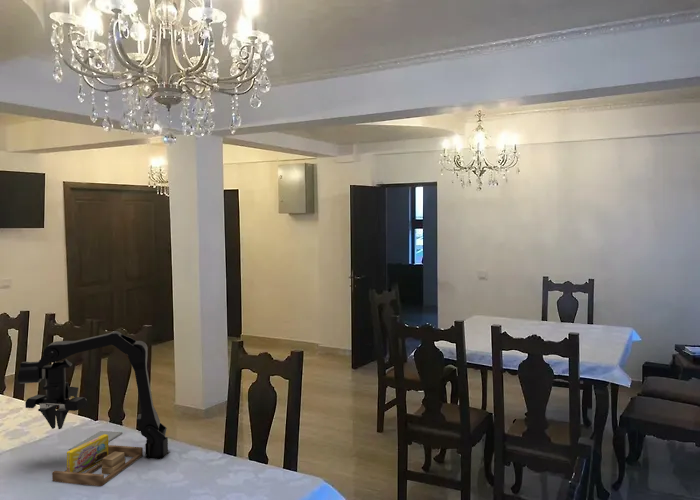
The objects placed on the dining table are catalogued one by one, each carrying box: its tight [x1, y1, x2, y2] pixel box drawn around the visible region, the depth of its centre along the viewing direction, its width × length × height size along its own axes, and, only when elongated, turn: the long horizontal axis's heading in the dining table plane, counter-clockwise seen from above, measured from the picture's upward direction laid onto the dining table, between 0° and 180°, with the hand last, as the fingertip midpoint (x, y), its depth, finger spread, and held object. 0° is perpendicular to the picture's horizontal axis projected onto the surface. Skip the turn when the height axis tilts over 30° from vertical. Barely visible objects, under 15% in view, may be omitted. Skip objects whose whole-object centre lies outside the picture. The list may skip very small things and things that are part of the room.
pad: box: [68, 430, 123, 451], centre depth 203 cm, size 9×18×1 cm, turn 169°
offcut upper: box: [101, 451, 126, 468], centre depth 179 cm, size 4×6×2 cm, turn 164°
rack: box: [51, 444, 144, 487], centre depth 180 cm, size 17×22×3 cm
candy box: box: [66, 434, 109, 473], centre depth 181 cm, size 16×2×8 cm, turn 162°
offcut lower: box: [101, 459, 126, 475], centre depth 179 cm, size 4×7×2 cm, turn 172°
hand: (56, 428), depth 182 cm, fingers closed
